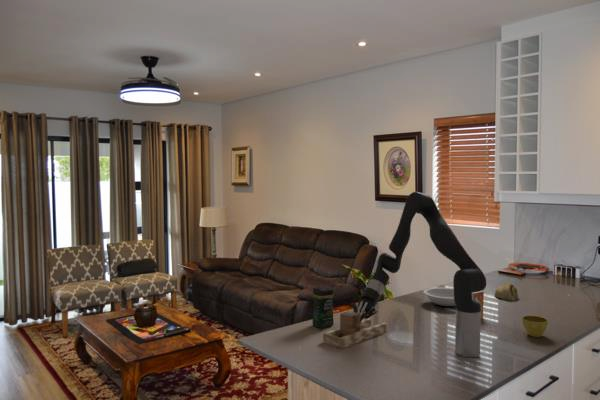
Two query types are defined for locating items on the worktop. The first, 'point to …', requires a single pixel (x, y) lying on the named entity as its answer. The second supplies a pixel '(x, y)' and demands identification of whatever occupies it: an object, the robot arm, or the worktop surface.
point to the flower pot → (534, 325)
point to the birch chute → (354, 334)
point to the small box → (479, 299)
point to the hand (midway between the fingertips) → (355, 324)
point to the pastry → (507, 293)
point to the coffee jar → (323, 306)
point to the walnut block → (349, 323)
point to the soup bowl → (441, 296)
